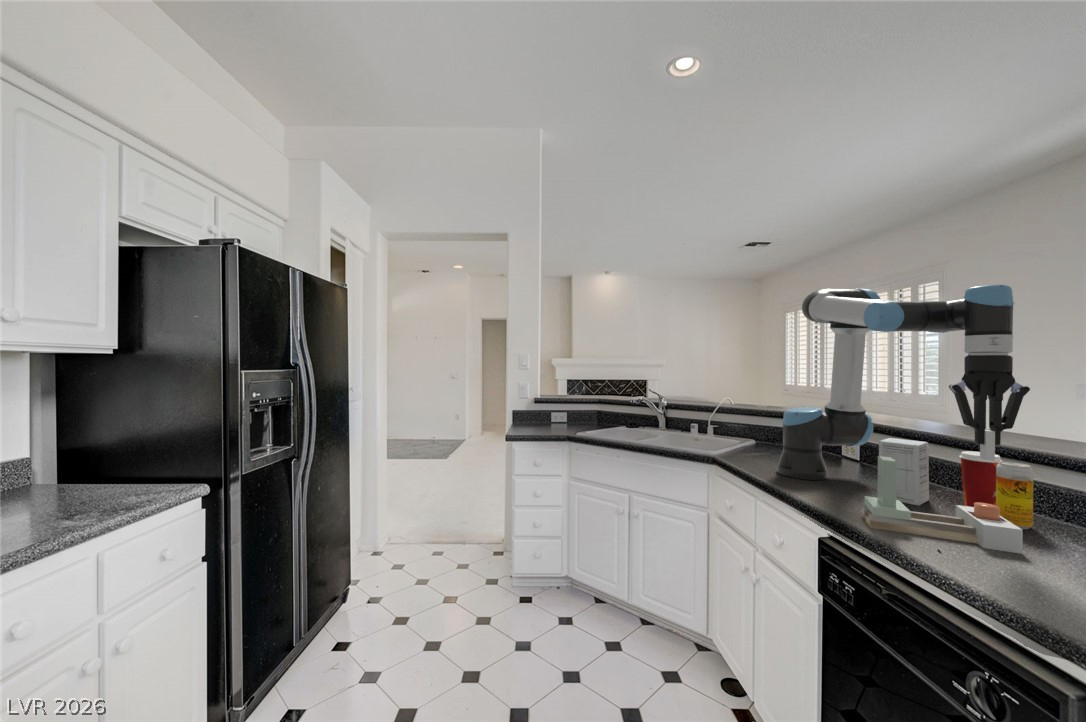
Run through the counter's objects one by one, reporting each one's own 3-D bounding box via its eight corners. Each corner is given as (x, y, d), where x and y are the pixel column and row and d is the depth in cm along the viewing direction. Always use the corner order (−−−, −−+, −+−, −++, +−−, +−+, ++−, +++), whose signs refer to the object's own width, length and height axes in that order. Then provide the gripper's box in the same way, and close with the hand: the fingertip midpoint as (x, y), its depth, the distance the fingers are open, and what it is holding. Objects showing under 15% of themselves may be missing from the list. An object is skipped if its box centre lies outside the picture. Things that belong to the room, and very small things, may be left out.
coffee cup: (1011, 515, 111) (1011, 457, 111) (974, 512, 112) (974, 456, 112) (985, 504, 119) (985, 451, 119) (950, 502, 121) (950, 449, 121)
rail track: (862, 515, 110) (862, 504, 110) (960, 529, 101) (960, 516, 101) (870, 527, 102) (870, 515, 102) (977, 543, 93) (977, 529, 93)
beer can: (1006, 528, 102) (1006, 465, 102) (989, 519, 108) (990, 460, 108) (1039, 531, 100) (1040, 468, 100) (1021, 522, 106) (1022, 462, 106)
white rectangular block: (955, 525, 104) (955, 505, 104) (989, 530, 101) (989, 509, 101) (983, 548, 91) (983, 524, 91) (1022, 553, 88) (1022, 529, 88)
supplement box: (930, 500, 122) (930, 442, 122) (919, 506, 117) (920, 445, 117) (889, 491, 130) (889, 437, 130) (877, 497, 125) (878, 440, 125)
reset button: (970, 518, 99) (970, 501, 99) (994, 521, 97) (994, 504, 97) (978, 524, 95) (978, 506, 95) (1003, 527, 93) (1003, 509, 93)
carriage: (864, 503, 110) (864, 453, 110) (898, 508, 106) (899, 456, 106) (873, 515, 101) (873, 460, 101) (910, 520, 98) (911, 464, 98)
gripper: (956, 354, 95) (956, 459, 95) (1038, 354, 90) (1038, 466, 90) (943, 354, 102) (942, 453, 102) (1018, 354, 96) (1018, 458, 96)
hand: (987, 458), depth 96 cm, fingers closed
